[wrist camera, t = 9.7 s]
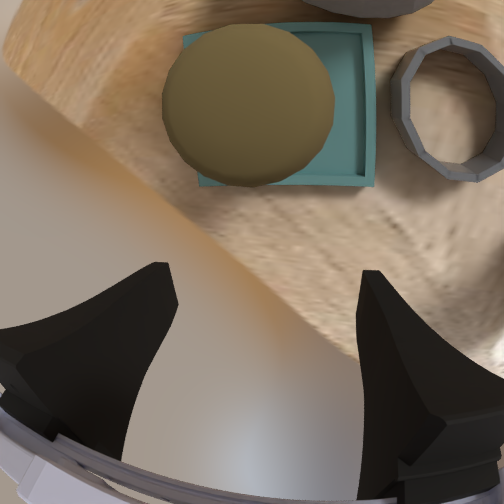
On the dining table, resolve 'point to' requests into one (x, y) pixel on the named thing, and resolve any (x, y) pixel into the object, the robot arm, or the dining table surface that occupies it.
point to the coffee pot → (371, 7)
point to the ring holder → (474, 170)
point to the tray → (337, 104)
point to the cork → (248, 105)
